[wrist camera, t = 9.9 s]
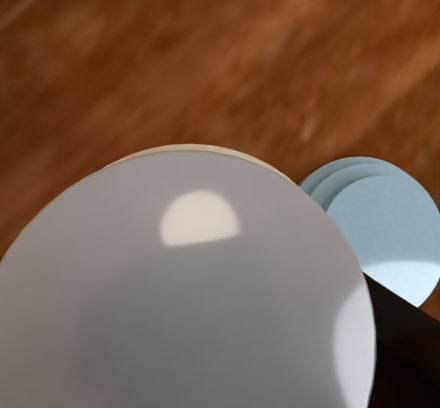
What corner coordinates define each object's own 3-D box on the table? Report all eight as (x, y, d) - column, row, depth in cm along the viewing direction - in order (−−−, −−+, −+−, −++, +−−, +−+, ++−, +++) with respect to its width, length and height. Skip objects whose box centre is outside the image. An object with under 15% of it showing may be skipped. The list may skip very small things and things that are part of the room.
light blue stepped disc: (448, 292, 19) (494, 305, 16) (305, 344, 18) (326, 369, 15) (401, 143, 20) (437, 129, 17) (258, 182, 18) (269, 175, 15)
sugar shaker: (263, 249, 14) (496, 365, 3) (191, 311, 13) (144, 757, 2) (206, 178, 14) (225, 26, 3) (131, 236, 13) (-209, 325, 2)
